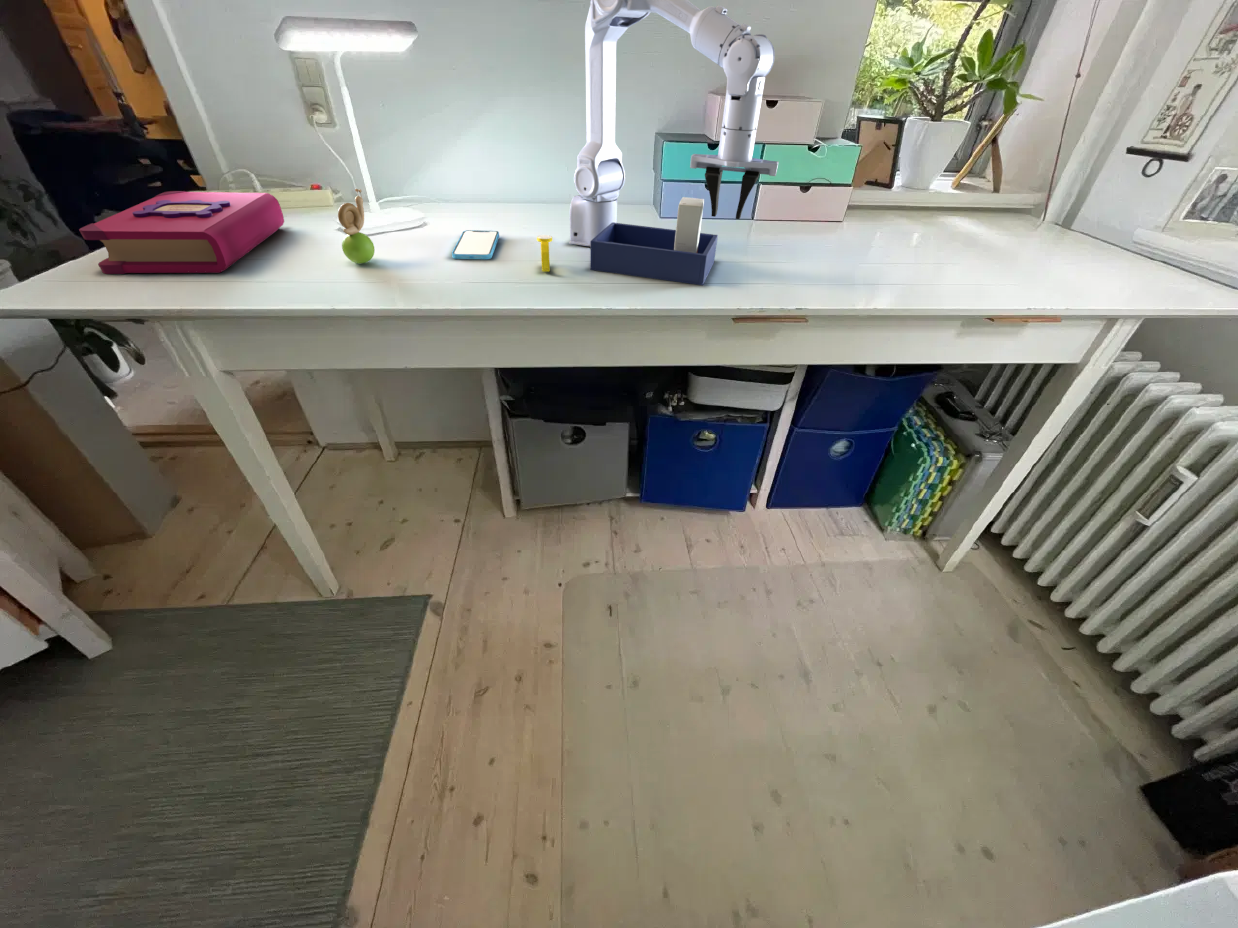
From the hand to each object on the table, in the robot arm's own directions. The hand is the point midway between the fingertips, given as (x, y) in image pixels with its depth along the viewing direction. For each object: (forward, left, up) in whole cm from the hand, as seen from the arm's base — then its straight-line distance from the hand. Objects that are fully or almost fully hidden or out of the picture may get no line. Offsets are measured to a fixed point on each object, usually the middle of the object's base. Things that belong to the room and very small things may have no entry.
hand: (726, 216), depth 98 cm
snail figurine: (-64, -19, -11) cm, 68 cm away
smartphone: (-49, -3, -11) cm, 50 cm away
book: (-96, -24, -11) cm, 100 cm away
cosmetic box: (-6, 0, -10) cm, 12 cm away
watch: (-31, -10, -11) cm, 34 cm away
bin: (-12, 0, -10) cm, 16 cm away
